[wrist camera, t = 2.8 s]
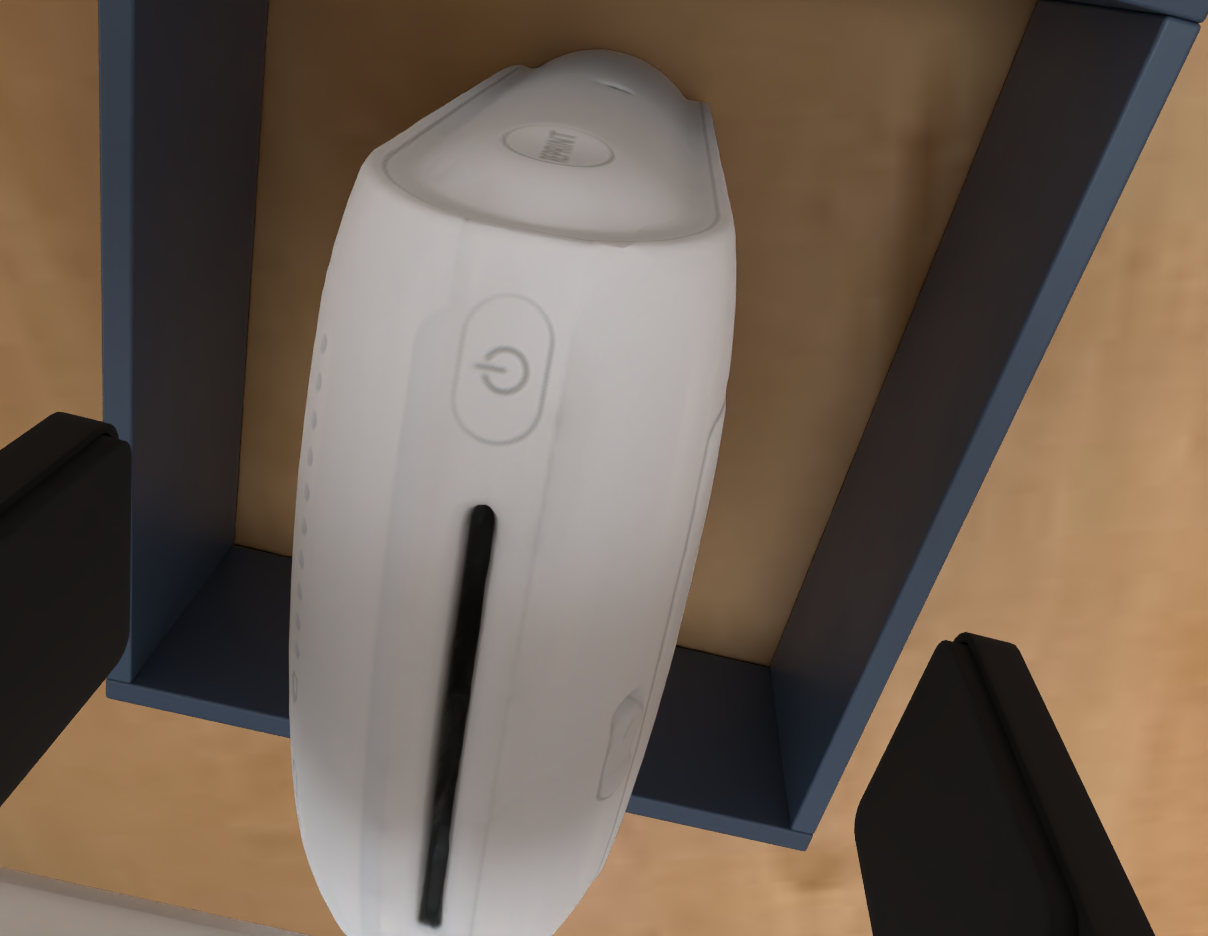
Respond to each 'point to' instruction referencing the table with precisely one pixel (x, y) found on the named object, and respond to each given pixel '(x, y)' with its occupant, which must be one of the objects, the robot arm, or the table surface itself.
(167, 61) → the dark gray open box
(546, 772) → the photo printer
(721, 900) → the table surface
